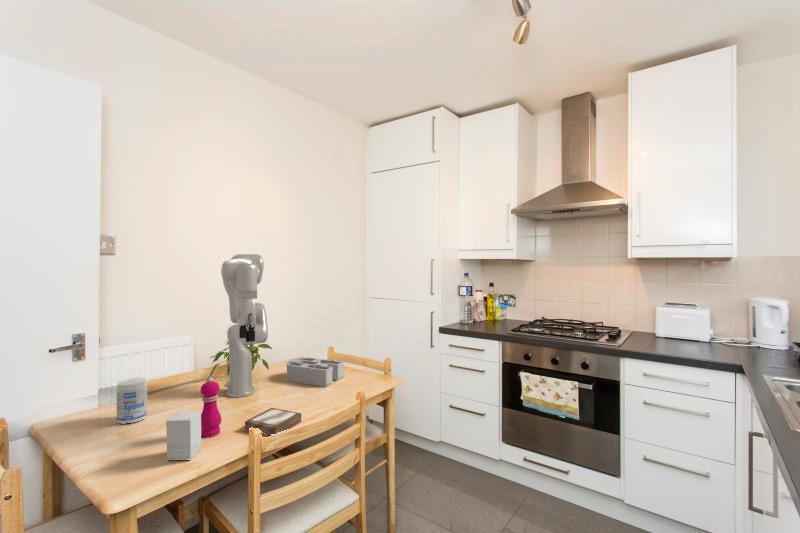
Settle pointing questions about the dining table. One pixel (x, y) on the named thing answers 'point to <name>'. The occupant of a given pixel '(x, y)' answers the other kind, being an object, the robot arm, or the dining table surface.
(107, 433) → the dining table surface
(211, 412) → the pepper mill
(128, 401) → the supplement tub
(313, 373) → the grey hollow block
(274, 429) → the base
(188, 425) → the supplement box
